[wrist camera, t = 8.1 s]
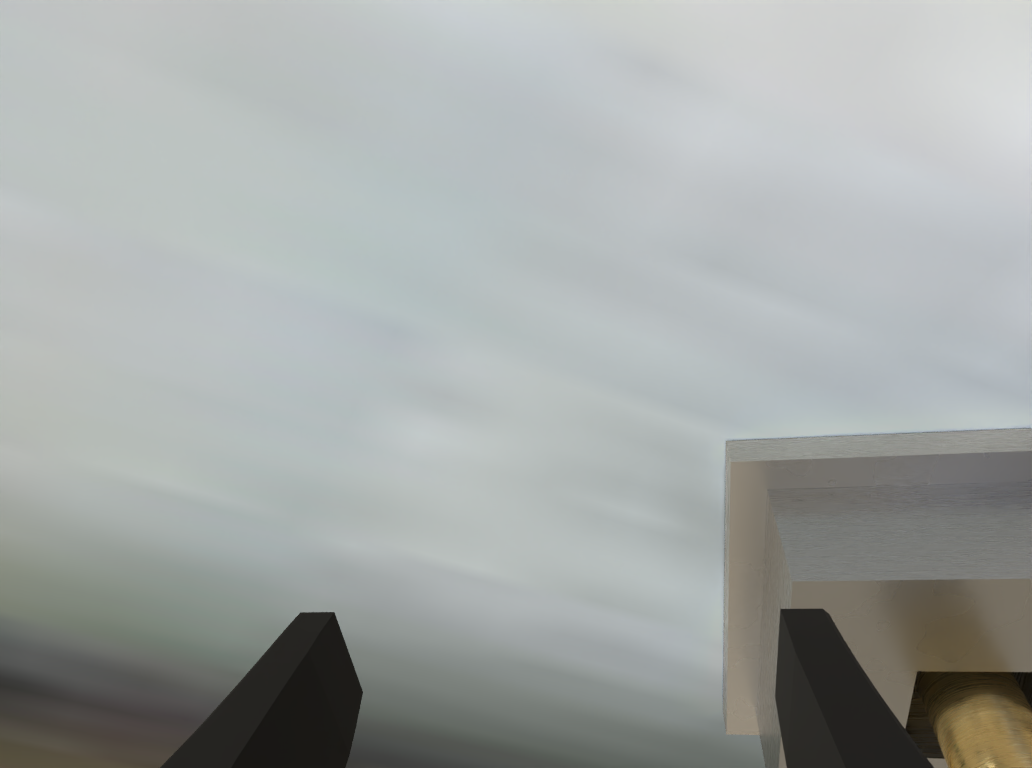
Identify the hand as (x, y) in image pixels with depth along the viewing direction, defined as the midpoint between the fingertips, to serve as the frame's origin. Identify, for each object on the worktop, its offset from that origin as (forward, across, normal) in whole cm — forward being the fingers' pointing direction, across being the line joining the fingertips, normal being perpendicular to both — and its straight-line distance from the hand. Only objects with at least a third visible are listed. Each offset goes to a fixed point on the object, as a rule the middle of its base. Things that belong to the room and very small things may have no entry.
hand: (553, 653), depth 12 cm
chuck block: (+10, -10, +9) cm, 17 cm away
